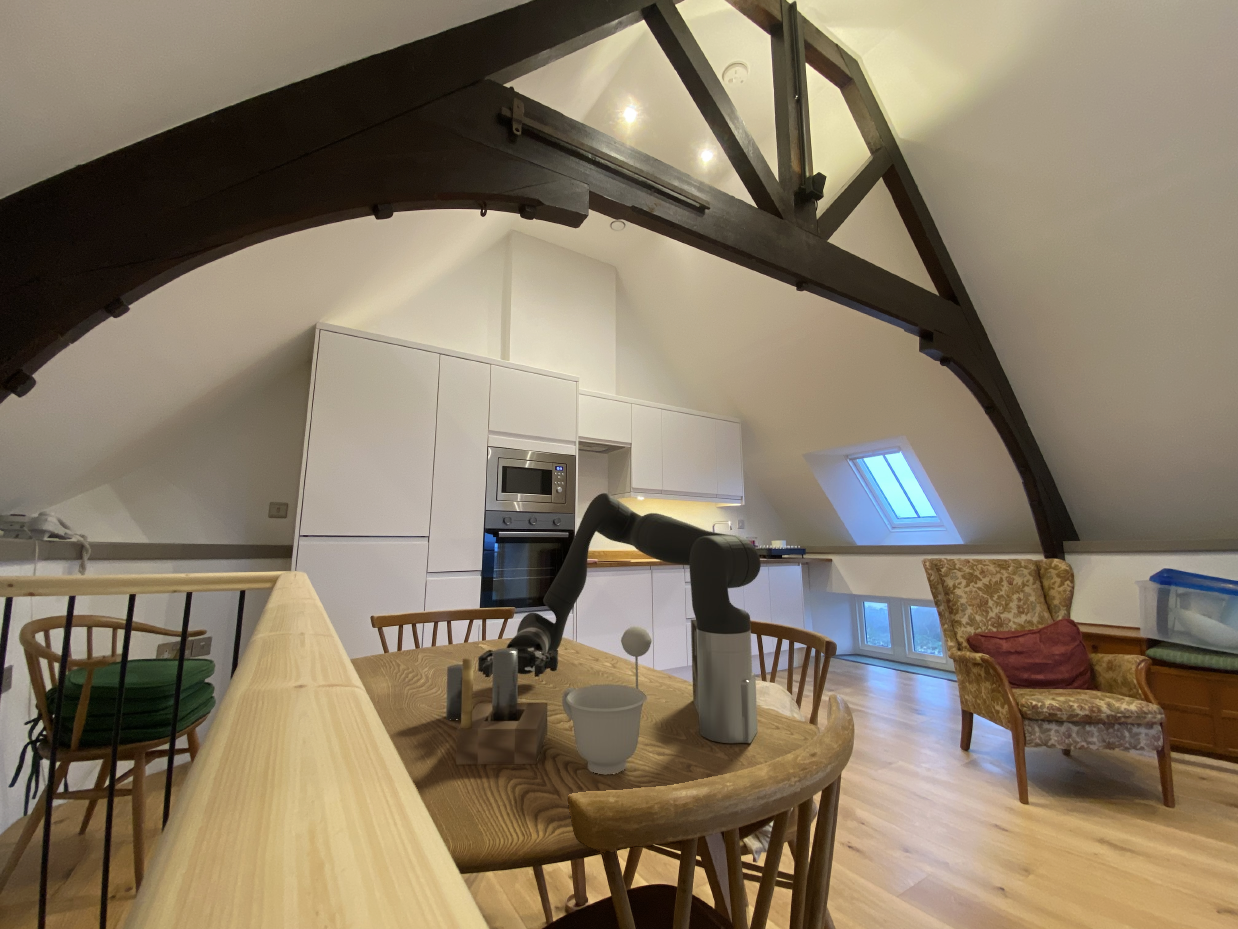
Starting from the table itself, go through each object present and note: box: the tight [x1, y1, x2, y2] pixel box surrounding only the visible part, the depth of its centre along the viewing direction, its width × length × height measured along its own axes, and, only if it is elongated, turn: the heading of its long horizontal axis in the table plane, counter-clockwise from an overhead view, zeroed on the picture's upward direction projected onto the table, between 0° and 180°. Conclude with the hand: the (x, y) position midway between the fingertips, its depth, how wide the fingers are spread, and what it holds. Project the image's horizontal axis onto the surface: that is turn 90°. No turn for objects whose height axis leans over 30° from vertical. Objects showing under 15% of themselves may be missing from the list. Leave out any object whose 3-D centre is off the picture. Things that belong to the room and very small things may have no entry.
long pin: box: [491, 647, 519, 721], centre depth 87 cm, size 4×4×15 cm
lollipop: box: [620, 625, 653, 689], centre depth 107 cm, size 6×6×15 cm
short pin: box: [445, 663, 463, 721], centre depth 101 cm, size 4×4×9 cm
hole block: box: [455, 657, 548, 765], centre depth 87 cm, size 12×12×15 cm
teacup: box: [561, 683, 648, 775], centre depth 80 cm, size 12×15×10 cm
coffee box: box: [690, 619, 699, 715], centre depth 105 cm, size 9×6×16 cm
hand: (512, 671), depth 93 cm, fingers open, 8 cm apart
